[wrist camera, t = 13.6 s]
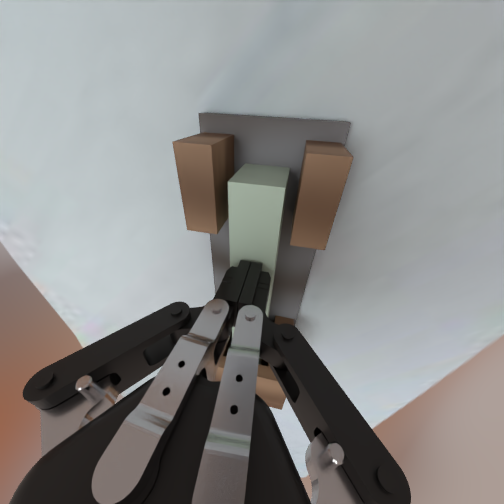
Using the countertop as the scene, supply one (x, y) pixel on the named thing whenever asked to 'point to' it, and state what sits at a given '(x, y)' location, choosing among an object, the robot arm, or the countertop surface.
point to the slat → (257, 217)
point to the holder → (295, 210)
